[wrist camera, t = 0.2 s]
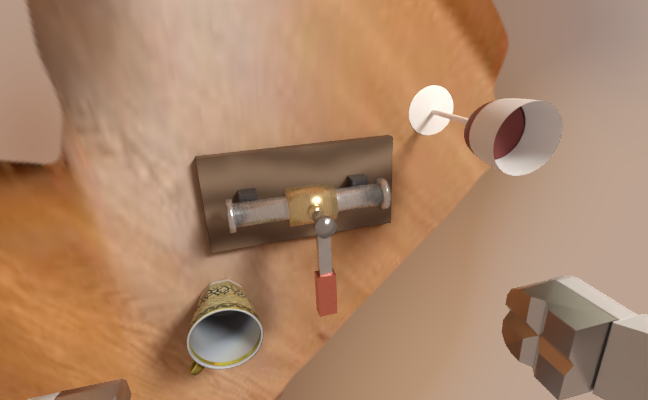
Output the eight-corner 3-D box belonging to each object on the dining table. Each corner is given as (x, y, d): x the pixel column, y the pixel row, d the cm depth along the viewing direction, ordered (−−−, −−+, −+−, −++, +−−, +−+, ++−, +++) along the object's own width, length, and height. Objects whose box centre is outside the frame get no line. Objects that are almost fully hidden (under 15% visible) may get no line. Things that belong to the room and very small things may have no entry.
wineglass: (400, 95, 57) (488, 119, 40) (451, 75, 59) (560, 88, 41) (411, 145, 61) (497, 187, 43) (460, 124, 62) (564, 157, 44)
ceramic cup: (215, 257, 59) (217, 296, 50) (267, 287, 63) (278, 327, 54) (164, 321, 60) (157, 370, 51) (218, 345, 64) (221, 394, 55)
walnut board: (195, 156, 53) (195, 159, 51) (388, 135, 59) (392, 137, 58) (211, 248, 58) (211, 252, 57) (386, 219, 64) (390, 222, 63)
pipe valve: (223, 187, 54) (226, 208, 47) (373, 168, 59) (395, 184, 52) (228, 222, 56) (232, 246, 49) (373, 200, 61) (394, 219, 54)
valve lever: (306, 207, 49) (314, 220, 46) (326, 204, 50) (336, 217, 46) (312, 301, 55) (320, 319, 51) (330, 297, 55) (339, 315, 52)
